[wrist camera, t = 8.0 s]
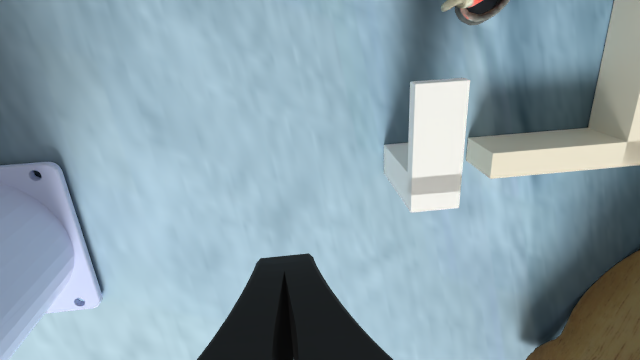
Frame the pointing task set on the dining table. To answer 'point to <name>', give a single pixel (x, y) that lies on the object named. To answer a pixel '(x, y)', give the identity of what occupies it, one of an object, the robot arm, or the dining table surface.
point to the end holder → (604, 125)
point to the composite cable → (460, 3)
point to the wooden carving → (602, 319)
